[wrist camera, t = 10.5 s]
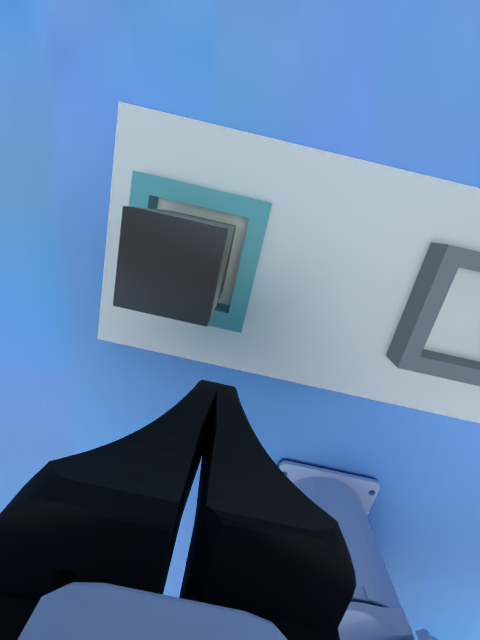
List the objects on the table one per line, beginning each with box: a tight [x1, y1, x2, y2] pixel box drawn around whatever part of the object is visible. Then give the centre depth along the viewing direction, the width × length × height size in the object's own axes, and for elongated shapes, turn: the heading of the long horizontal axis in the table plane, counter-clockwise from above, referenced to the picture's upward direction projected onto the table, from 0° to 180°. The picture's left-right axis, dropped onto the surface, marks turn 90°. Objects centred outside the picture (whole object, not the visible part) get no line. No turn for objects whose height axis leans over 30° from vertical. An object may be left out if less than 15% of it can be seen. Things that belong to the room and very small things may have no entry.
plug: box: [113, 206, 236, 327], centre depth 16 cm, size 4×4×7 cm
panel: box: [98, 102, 480, 423], centre depth 19 cm, size 14×29×3 cm, turn 78°
